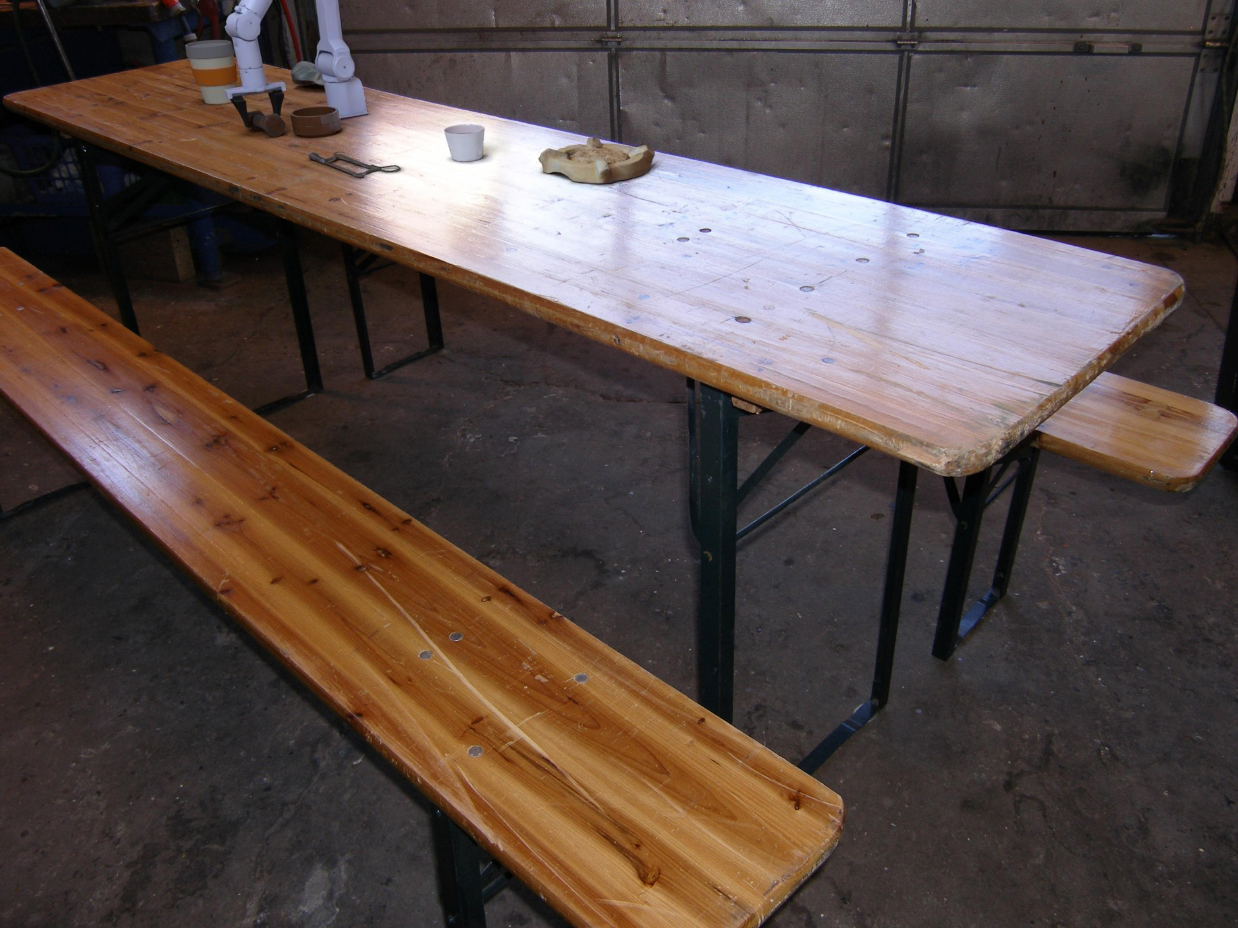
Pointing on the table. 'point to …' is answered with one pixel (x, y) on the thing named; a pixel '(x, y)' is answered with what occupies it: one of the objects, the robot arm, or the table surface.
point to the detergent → (306, 74)
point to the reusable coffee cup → (213, 68)
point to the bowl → (315, 121)
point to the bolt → (267, 123)
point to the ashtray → (598, 161)
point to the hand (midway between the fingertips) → (263, 125)
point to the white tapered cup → (465, 141)
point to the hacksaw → (371, 167)
